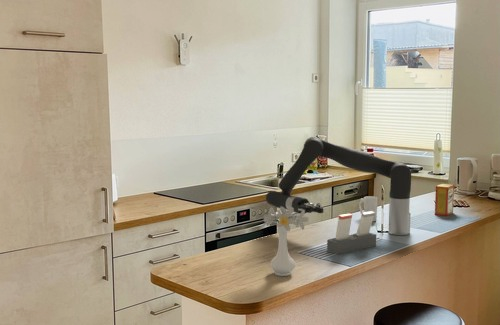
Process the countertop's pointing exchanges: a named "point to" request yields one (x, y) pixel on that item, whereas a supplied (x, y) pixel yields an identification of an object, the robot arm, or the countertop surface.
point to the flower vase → (283, 237)
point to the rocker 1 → (343, 226)
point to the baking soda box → (444, 199)
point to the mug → (369, 205)
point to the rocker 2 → (365, 223)
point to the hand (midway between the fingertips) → (322, 210)
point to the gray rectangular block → (351, 243)
